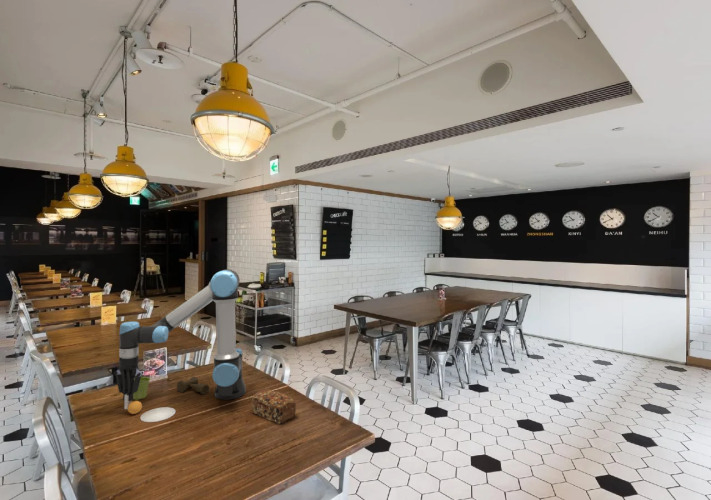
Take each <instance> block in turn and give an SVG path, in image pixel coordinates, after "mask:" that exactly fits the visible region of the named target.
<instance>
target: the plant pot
mask: <svg viewBox="0 0 711 500" xmlns="http://www.w3.org/2000/svg"><path fill="white" fill-rule="evenodd" d="M134 380H135V378H134ZM150 380H151V378H150V377H148V376H141V379H140V383H139V387H138V391H137V392H135V393H133V401H139V400H141V399H144V398H146V397H147V395H148V387H149V383H150Z"/></svg>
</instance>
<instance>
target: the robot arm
mask: <svg viewBox="0 0 711 500" xmlns="http://www.w3.org/2000/svg"><path fill="white" fill-rule="evenodd" d="M239 285H240V276H239V274H238V273H237V272H236V271H234V270H232V269H230V268H229V269H228V268H227V269H222V270H220V271H218V272H216V273H215V274H213V276H212V278H211V279H210V281H209V283H208V285H207V286H205V287H204V288H203V289H201V290H200V291H199V292H197V293H196V294H194V295H193V296H192V297H190V298H189V299H188V300H186V301H184V302H183V303H182V304H181V305H179V306H178V307H176V308H175V309H173V310H172V311H171V312H169V313H167V314H166V315H165V316H164V317H163V318H161V319H159V320H158V321H157V322H155V323H154V324H152V325H150V326H142V325H141V326H140V323H139V322H138V321H125V322H122V323H121V324H120V326H119V343H118V344H119V347H118V348H119V349H118V350H119V352H118V353H119V355H118V356H119V358H118V366H119V368H118V369H117V370H116V371H115V370H114V371H113V374H114V376H115V378H116V384H117V390H118V393H121V394H122V398H123V401H124V410H128V406H129V404H130V403H131V402H133V401H134V399H133V393H135V392H137V391H138V387H139V383H140V379H141V377H143V374H144V371H140V370H139V367H138V364H139V354H140V353H139V346H140V344H161V343H166V342H167V341H168V338H169V334H170V333H171V331H174V329H176V328H177V327H179V326H180V325H181V324H182V323H184V322H185V321H187V320H188V319H190V318H191V317H192V316H194V315H195V314H196V313H197V312H199V311H200V310H202V309H203V308H205V307H206V306H207V305H209V304H210V303H212V302H214V304H215V318H216V319H215V323H216V326H215V329H216V354H214V356H213V371H212V376H211V377H212V380H213V381H214V383H215V384H216V387H215V390H214V397H215V398H216V399H219V400H225V401H226V400H235V399H238V398H241V397H243V396H245V394H246V393H247V392H246V391H247V389H246V384H245V381H244V379H243V356H244V354H243V349H241V348H239V347H238V348H237V346H236V345H237V342H236V340H237V339H236V335H237V334H236V333H237V331H236V330H237V329H236V301H237V300H238V298H239ZM134 379H135V380H134Z"/></svg>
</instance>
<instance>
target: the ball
mask: <svg viewBox="0 0 711 500" xmlns="http://www.w3.org/2000/svg"><path fill="white" fill-rule="evenodd" d="M142 408H143V404H142V402H141V401H139V400H132V402H131V403H130V404H129V406H128V409H127V411H128V413H130V414H132V415H136V414H138V413H140V411H142Z"/></svg>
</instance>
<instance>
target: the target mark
mask: <svg viewBox="0 0 711 500" xmlns="http://www.w3.org/2000/svg"><path fill="white" fill-rule="evenodd" d="M175 414H176V409H175V408H173V407H165V406H162V407H156V408H153V409H150V410H147V411H145V412H143V413H142V414H141V415H140V417H139V418H140V420H141V421H142V422H145V423H156V422H160V421H165V420H167V419H169V418H171V417H173V416H174V415H175Z"/></svg>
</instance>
